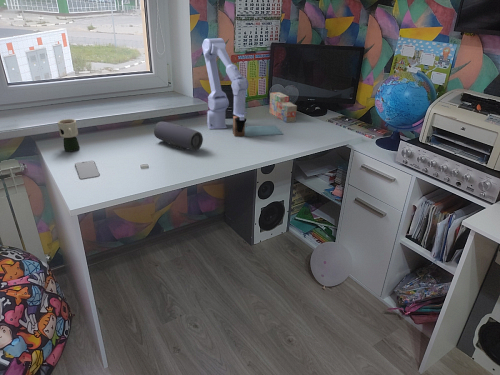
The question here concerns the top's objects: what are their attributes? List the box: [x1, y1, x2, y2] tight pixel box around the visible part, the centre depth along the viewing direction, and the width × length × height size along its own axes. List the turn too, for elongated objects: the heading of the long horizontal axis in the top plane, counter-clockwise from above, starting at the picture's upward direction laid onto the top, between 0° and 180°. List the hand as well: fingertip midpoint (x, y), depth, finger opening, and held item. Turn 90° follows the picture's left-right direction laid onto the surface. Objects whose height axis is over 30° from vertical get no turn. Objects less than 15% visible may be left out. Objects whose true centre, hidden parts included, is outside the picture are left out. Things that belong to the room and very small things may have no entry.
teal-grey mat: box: [244, 124, 284, 137], centre depth 198 cm, size 20×14×1 cm
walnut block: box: [232, 116, 246, 137], centre depth 189 cm, size 5×5×9 cm
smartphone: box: [74, 160, 101, 180], centre depth 147 cm, size 7×1×15 cm
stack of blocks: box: [269, 91, 298, 123], centre depth 219 cm, size 21×6×12 cm, turn 24°
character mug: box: [57, 118, 81, 152], centre depth 162 cm, size 11×7×13 cm, turn 33°
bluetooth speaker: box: [153, 121, 204, 151], centre depth 172 cm, size 23×9×10 cm, turn 56°
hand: (238, 130), depth 190 cm, fingers closed on walnut block, 5 cm apart
